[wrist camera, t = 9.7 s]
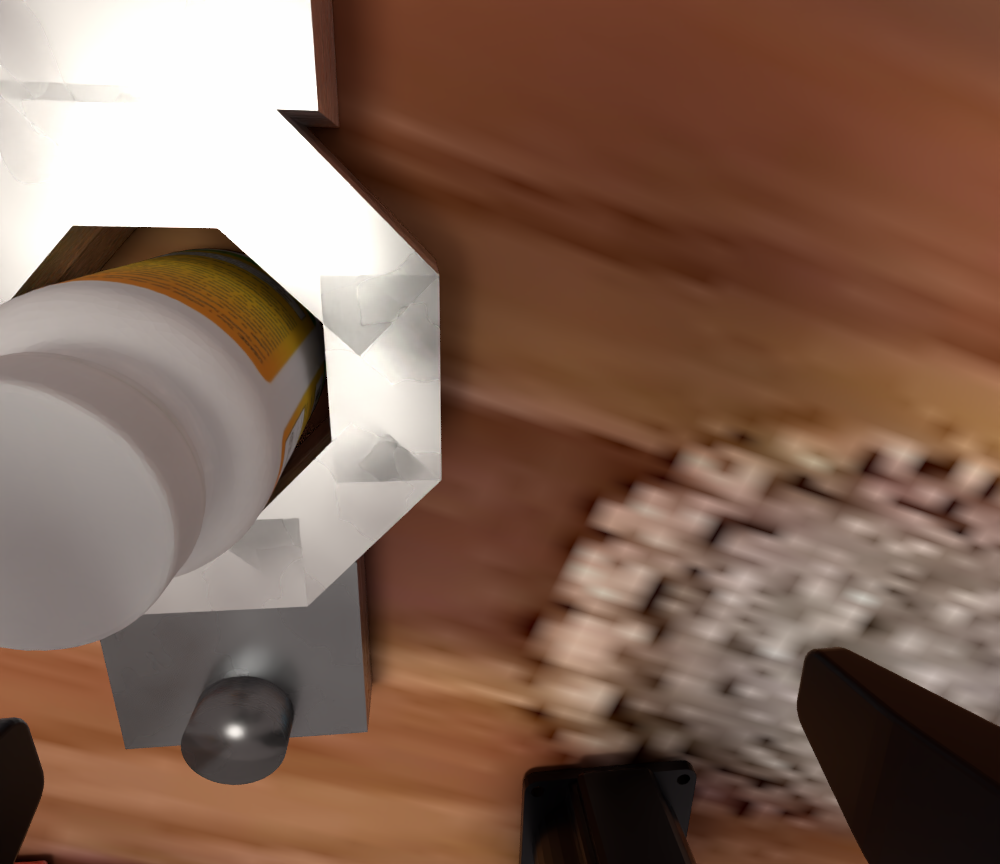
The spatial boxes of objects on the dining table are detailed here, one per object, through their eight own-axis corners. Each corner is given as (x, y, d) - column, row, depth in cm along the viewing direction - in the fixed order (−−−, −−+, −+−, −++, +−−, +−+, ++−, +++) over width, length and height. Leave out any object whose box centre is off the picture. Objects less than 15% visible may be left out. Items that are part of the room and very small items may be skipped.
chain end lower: (440, 690, 22) (443, 768, 19) (78, 713, 21) (20, 801, 18) (434, 117, 16) (437, 100, 13) (-83, 98, 15) (-213, 74, 12)
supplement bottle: (88, 261, 16) (-341, 355, 7) (304, 232, 16) (157, 285, 7) (156, 457, 18) (-110, 725, 9) (348, 427, 18) (274, 659, 9)
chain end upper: (439, 532, 20) (443, 611, 16) (35, 547, 19) (-62, 637, 15) (430, -200, 14) (433, -345, 10) (-175, -255, 12) (-431, -448, 9)
